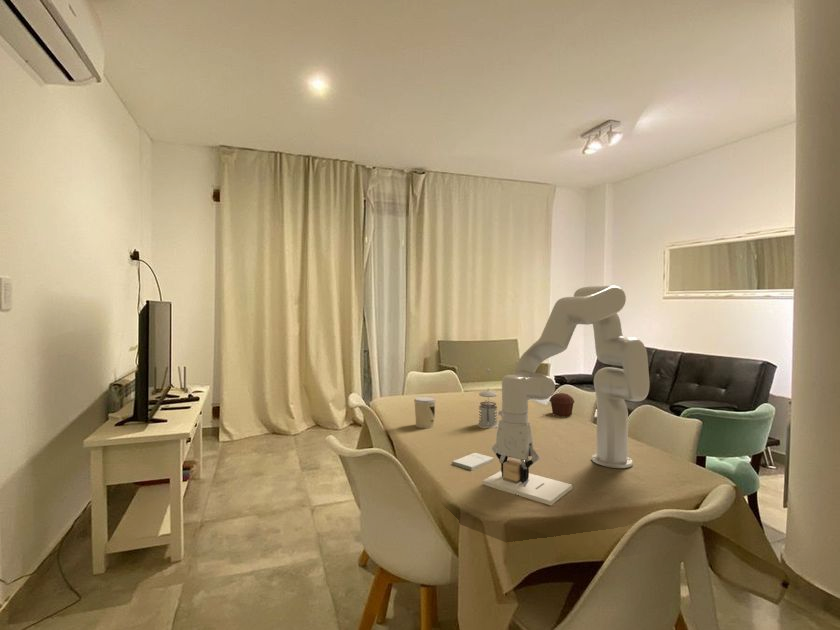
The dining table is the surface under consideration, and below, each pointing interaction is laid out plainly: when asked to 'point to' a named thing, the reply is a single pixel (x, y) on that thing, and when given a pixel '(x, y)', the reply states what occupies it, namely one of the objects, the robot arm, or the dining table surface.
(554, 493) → the board
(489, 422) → the french press
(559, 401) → the muffin
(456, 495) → the dining table surface
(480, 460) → the external hard drive
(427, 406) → the coffee cup
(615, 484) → the dining table surface
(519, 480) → the block
